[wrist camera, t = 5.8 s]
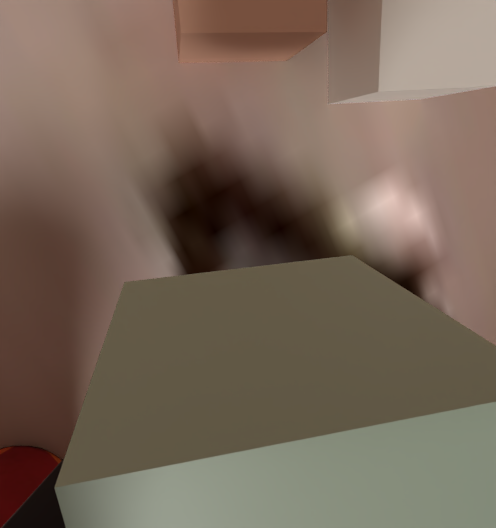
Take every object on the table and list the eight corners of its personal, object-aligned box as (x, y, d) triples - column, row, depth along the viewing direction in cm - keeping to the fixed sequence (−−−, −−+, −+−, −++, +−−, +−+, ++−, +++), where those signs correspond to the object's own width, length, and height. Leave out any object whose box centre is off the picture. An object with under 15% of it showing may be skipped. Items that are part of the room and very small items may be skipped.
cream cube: (427, -15, 18) (517, -70, 13) (419, 99, 20) (496, 86, 15) (327, -15, 17) (385, -74, 13) (327, 104, 19) (378, 91, 14)
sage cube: (352, 255, 9) (563, 388, 4) (346, 433, 10) (494, 680, 6) (124, 281, 8) (54, 486, 3) (157, 470, 9) (142, 794, 5)
